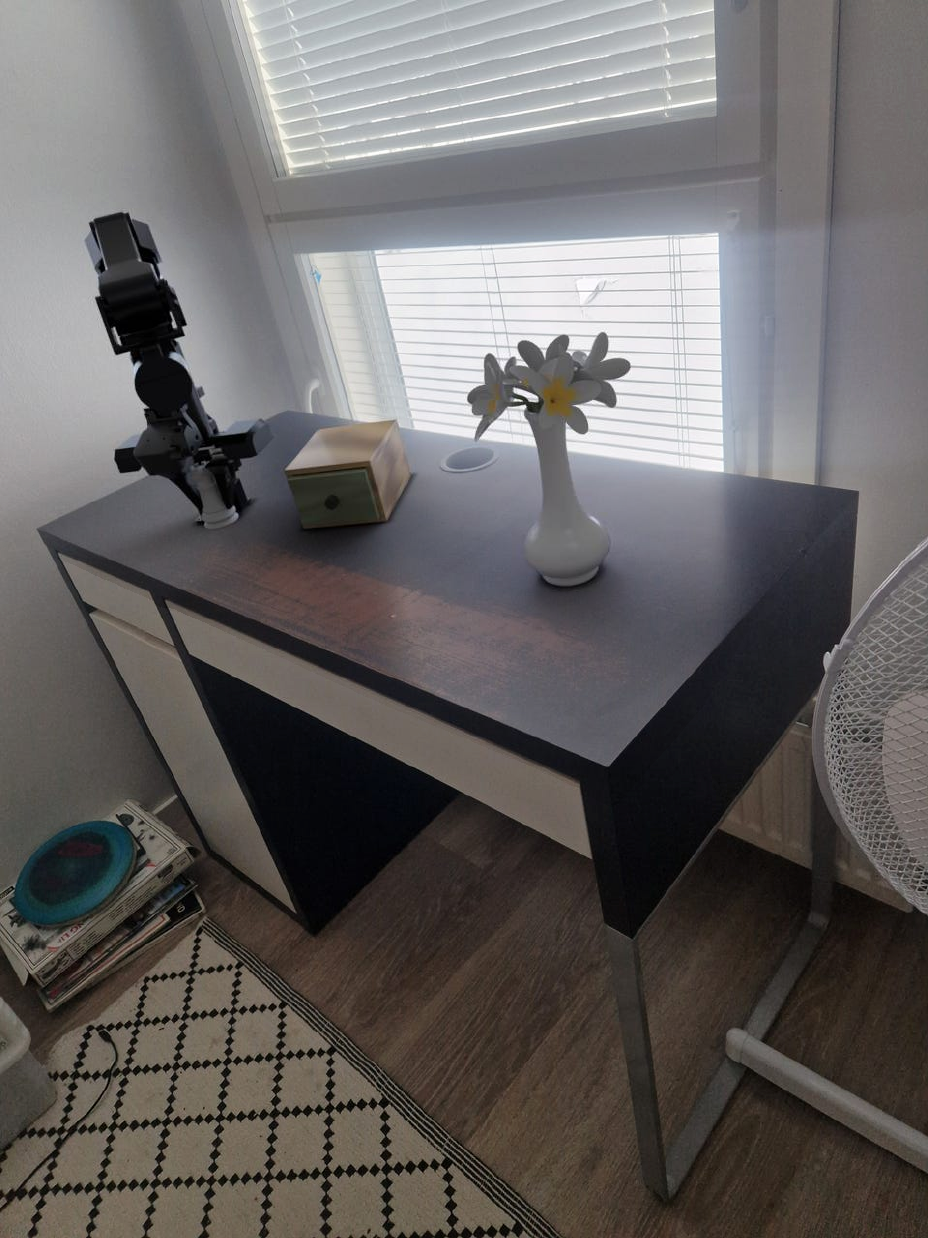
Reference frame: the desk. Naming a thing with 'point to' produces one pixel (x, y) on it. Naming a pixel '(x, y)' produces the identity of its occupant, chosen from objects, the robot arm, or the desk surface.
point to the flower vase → (555, 445)
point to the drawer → (334, 497)
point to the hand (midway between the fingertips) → (217, 509)
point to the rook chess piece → (212, 500)
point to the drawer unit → (359, 459)
